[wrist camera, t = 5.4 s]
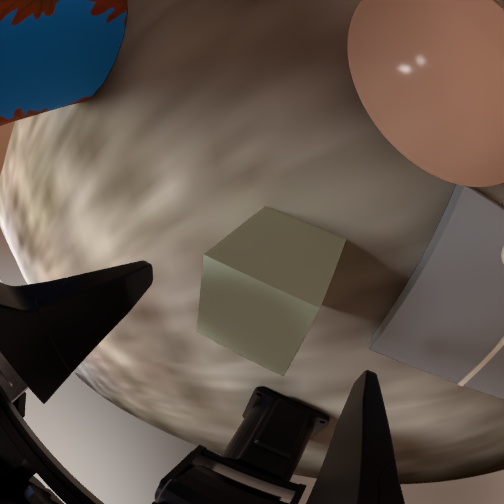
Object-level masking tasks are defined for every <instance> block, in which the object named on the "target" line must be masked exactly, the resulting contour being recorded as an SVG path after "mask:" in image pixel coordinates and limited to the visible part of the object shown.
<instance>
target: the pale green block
mask: <svg viewBox="0 0 504 504" xmlns="http://www.w3.org/2000/svg"><path fill="white" fill-rule="evenodd" d="M345 242H346V239H344V238H342V237H340V236H337V235H335V234H333V233H330V232H328V231H326V230H323V229H321V228H318V227H316V226H313V225H311V224H309V223H306V222H304V221H301V220H299V219H296V218H294V217H291V216H289V215H286V214H284V213H281V212H279V211H276V210H273V209H271V208H268V207H266V206H265V207H264V208H262V209H261V210H260V211H259V212H257V213H256V214H255V215H253V216H252V217H251V218H250V219H248V220H247V221H246V222H244V223H243V224H242V225H241V226H239V227H238V228H237V229H235V230H234V231H233V232H232V233H230V234H229V235H228V236H227V237H225V238H224V239H223V240H222V241H220V242H219V243H218V244H217V245H215V246H214V247H213V248H212V249H210V250H209V251H208V252H207V253H205V254H204V259H203V269H202V279H201V290H200V302H199V314H198V327H197V332H199V333H201V334H202V335H204V336H206V337H208V338H210V339H211V340H213V341H215V342H217V343H219V344H220V345H222V346H224V347H226V348H228V349H230V350H232V351H233V352H235V353H237V354H239V355H241V356H243V357H245V358H247V359H249V360H251V361H253V362H255V363H257V364H259V365H261V366H263V367H265V368H267V369H269V370H271V371H273V372H275V373H277V374H280V375H282V376H284V375H285V373H286V371H287V370H288V368H289V366H290V364H291V362H292V361H293V359H294V357H295V355H296V353H297V352H298V350H299V348H300V346H301V344H302V342H303V340H304V338H305V337H306V335H307V333H308V331H309V329H310V327H311V325H312V323H313V321H314V319H315V317H316V315H317V313H318V311H319V309H320V307H321V304H322V302H323V300H324V297H325V295H326V292H327V290H328V287H329V285H330V282H331V279H332V277H333V274H334V272H335V269H336V266H337V264H338V261H339V258H340V256H341V253H342V250H343V247H344V244H345Z"/></svg>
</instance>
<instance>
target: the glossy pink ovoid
mask: <svg viewBox="0 0 504 504" xmlns="http://www.w3.org/2000/svg"><path fill="white" fill-rule="evenodd" d="M347 54H348V61H349V68H350V72H351V75H352V79H353V83H354V85H355V88H356V90H357V93H358V96H359V98H360V100H361V102H362V104H363V105H364V107H365V109H366V111H367V113H368V114H369V116H370V117H371V119H372V121H373V122H374V124H375V125H376V126H377V128H378V129H379V130H380V131H381V133H382V134H383V135H384V137H385V138H386V139H387V140H388V141H389V142H390V143H391V144H392V145H393V146H394V147H395V148H396V149H397V150H398V151H399V152H400V153H401V154H403V155H404V156H405V157H406V158H407V159H408V160H410V161H411V162H413V163H414V164H415V165H417V166H418V167H419V168H421V169H423V170H425V171H426V172H428V173H430V174H432V175H433V176H436V177H438V178H440V179H443V180H445V181H448V182H451V183H454V184H458V185H463V186H469V187H488V186H495V185H499V184H502V183H504V10H503V9H502V8H501V7H500V6H499V5H498V4H497V3H496V2H494V1H493V0H361V2H360V3H359V4H358V6H357V8H356V10H355V12H354V14H353V16H352V19H351V23H350V26H349V32H348V39H347Z"/></svg>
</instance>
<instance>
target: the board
mask: <svg viewBox="0 0 504 504" xmlns="http://www.w3.org/2000/svg"><path fill="white" fill-rule="evenodd" d="M370 350H373V351H375V352H377V353H380V354H382V355H385V356H387V357H390V358H392V359H395V360H397V361H400V362H402V363H405V364H407V365H410V366H412V367H415V368H417V369H420V370H423V371H425V372H428V373H430V374H433V375H436V376H438V377H441V378H444V379H446V380H449V381H452V382H455V383H457V384H458V385H459V386H466V387H469V388H472V389H474V390H477V391H480V392H483V393H486V394H489V395H492V396H495V397H498V398H501V399H504V208H503V207H502V206H500V205H499V204H497V203H496V202H494V201H493V200H491V199H490V198H488V197H487V196H485V195H483V194H482V193H480V192H479V191H477V190H475V189H474V188H472V187H469V186H463V185H458V184H456V186H455V189H454V191H453V194H452V196H451V198H450V201H449V203H448V205H447V208H446V210H445V212H444V214H443V216H442V219H441V221H440V223H439V225H438V227H437V229H436V231H435V233H434V235H433V237H432V239H431V241H430V243H429V245H428V247H427V249H426V251H425V253H424V254H423V256H422V258H421V260H420V262H419V264H418V265H417V267H416V269H415V271H414V272H413V274H412V276H411V278H410V279H409V281H408V283H407V284H406V286H405V288H404V289H403V291H402V292H401V294H400V296H399V297H398V299H397V300H396V302H395V303H394V305H393V307H392V308H391V310H390V311H389V313H388V314H387V316H386V317H385V319H384V320H383V322H382V323H381V324H380V326H379V327H378V329H377V330H376V332H375V333H374V334H373V336H372V340H371V345H370Z"/></svg>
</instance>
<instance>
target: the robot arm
mask: <svg viewBox="0 0 504 504" xmlns="http://www.w3.org/2000/svg"><path fill="white" fill-rule="evenodd" d="M152 282H153V269H152V265H151V264H150V263H148V262H146V261H138V262H134V263H129V264H125V265H120V266H116V267H111V268H107V269H102V270H98V271H93V272H89V273H84V274H80V275H75V276H71V277H68V278H62V279H58V280H53V281H48V282H42V283H36V284H29V285H22V286H9V285H5V284H3V283H1V282H0V504H64V503H63V502H62V501H61V500H59V498H58V497H57V496H55V494H54V493H53V492H52V491H51V490H50V489H47V488H45V486H44V485H43V484H42V483H41V482H40V481H39V480H38V479H37V478H35V477H34V476H33V475H34V474H35V473H37V474H38V475H39V476H40V477H41V478H42V479H43V481H44V482H45V483H46V484H47V485H48V486H49V487H50V488H51V489H52V490H53V491H54V492H55V493H56V494H57V495H58V496H59V497H60V498H61V499H62V500H63V501H64V502H65V503H66V504H104V503H103V502H102V501H100V500H99V499H98V498H96V496H94V495H93V494H92V493H91V492H90V491H89V490H87V489H86V488H85V487H84V486H83V485H82V484H81V483H80V482H79V481H78V480H77V479H75V478H74V477H73V476H72V475H71V474H70V473H69V472H68V471H67V470H66V469H65V468H64V467H63V466H62V465H61V463H60V462H59V461H58V460H57V459H56V458H55V457H54V456H53V455H52V454H51V453H50V452H49V450H48V449H47V448H46V447H45V446H44V445H43V443H42V442H41V441H40V440H39V439H38V437H37V436H36V435H35V434H34V432H33V431H32V430H31V429H30V427H29V426H28V425H27V423H26V422H25V421H24V419H23V417H24V416H25V401H26V393H25V391H26V390H27V389H28V388H30V390H31V391H32V392H33V393H34V394H35V395H36V396H37V397H38V398H39V400H41V402H42V403H43V404H45V403H46V402H47V401H48V399H49V398H50V397H51V396H52V395H53V394H54V392H55V391H56V390H57V389H58V388H59V387H60V386H61V384H62V383H63V382H64V381H65V380H66V379H67V378H68V377H69V376H70V374H71V373H72V372H73V371H74V370H75V369H76V368H77V367H78V365H79V364H80V363H81V362H82V361H83V360H84V359H85V358H86V357H87V356H88V355H89V354H90V352H91V351H92V350H93V349H94V348H95V347H96V346H97V345H98V344H99V343H100V342H101V341H102V340H103V339H104V338H105V336H106V335H107V334H108V333H109V332H110V331H111V330H112V329H113V328H114V327H115V326H116V325H117V324H118V323H119V322H120V321H121V320H122V319H123V318H124V317H125V316H126V315H127V314H128V313H129V311H130V310H131V309H132V308H133V307H134V306H135V304H136V303H137V302H138V301H139V299H140V298H141V297H142V296H143V294H144V293H145V292H146V291H147V289H148V288H149V287H150V286H151V284H152ZM242 416H243V418H245V419H244V420H243V422H242V424H241V425H240V427H239V428H238V430H237V432H236V433H235V435H234V436H233V438H232V439H231V441H230V443H229V444H228V446H227V447H226V449H225V450H224V452H223V453H222V455H221V456H220V455H218V454H216V453H214V452H212V451H210V450H208V449H207V448H206V447H204V446H202V445H199V446H198V447H197V448H196V449H195V450H194V451H192V452H190V454H188V455H187V456H186V457H185V458H184V459H183V460H182V461H181V462H180V463H179V464H178V465H177V466H176V467H175V468H174V469H173V470H172V471H170V472H169V473H168V474H167V475H166V476H165V477H164V478H163V479H162V480H161V481H160V484H159V486H158V488H157V490H156V493H155V501H156V502H155V501H154V502H153V503H152V504H298V503H299V501H300V499H301V496H302V494H303V492H304V490H305V488H306V485H303V484H295V483H292V482H290V480H291V478H292V475H293V473H294V471H295V469H296V467H297V465H298V463H299V461H300V459H301V457H302V454H303V452H304V450H305V448H306V445H307V443H308V441H309V439H310V438H311V437H313V436H314V435H315V434H316V433H318V432H319V431H320V430H321V429H323V428H324V427H325V426H326V425H327V424H328V423H329V420H330V418H329V417H328V416H326V415H323V414H321V413H318V412H316V411H313V410H311V409H308V408H306V407H304V406H301V405H299V404H297V403H294V402H292V401H290V400H288V399H285V398H283V397H281V396H279V395H277V394H274V393H272V392H270V391H268V390H266V389H264V388H262V387H256V388H255V390H254V392H253V394H252V396H251V398H250V400H249V403H248V405H247V407H246V409H245V411H244V413H243V415H242ZM394 457H395V455H394V449H393V444H392V439H391V434H390V429H389V424H388V419H387V415H386V410H385V406H384V402H383V398H382V393H381V389H380V385H379V381H378V378H377V375H376V373H374V372H371V371H369V370H366V371H364V372H363V374H362V375H361V376H360V377H359V378H358V379H357V380H356V381H355V383H354V385H353V387H352V389H351V392H350V394H349V397H348V399H347V401H346V404H345V406H344V408H343V411H342V413H341V415H340V418H339V420H338V423H337V425H336V428H335V431H334V434H333V437H332V440H331V443H330V446H329V449H328V452H327V454H326V457H325V460H324V462H323V465H322V467H321V470H320V472H319V475H318V477H317V480H316V482H315V485H314V487H313V489H312V492H311V494H310V496H309V498H308V501H307V503H306V504H405V502H404V498H403V494H402V490H401V487H400V482H399V477H398V472H397V466H396V460H395V458H394ZM224 475H225V476H224ZM253 487H254V488H253ZM264 491H265V492H264ZM281 497H283V498H286V499H290V500H291V502H290V503H285V502H282V501H280V500H281Z"/></svg>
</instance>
